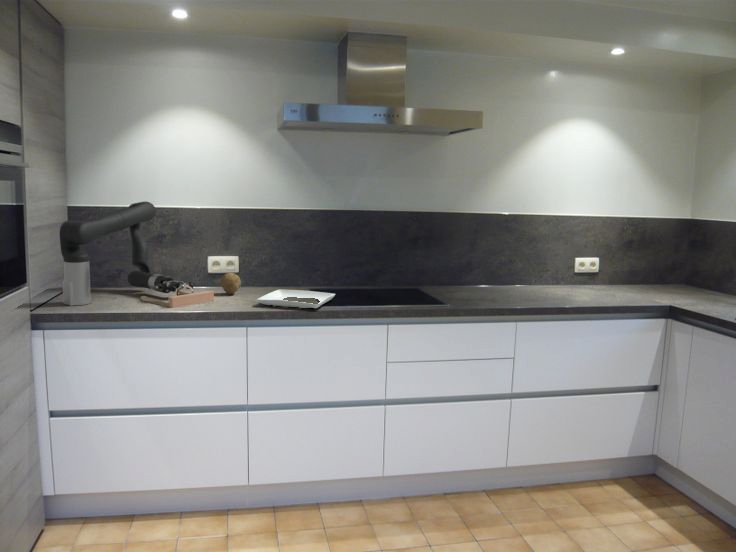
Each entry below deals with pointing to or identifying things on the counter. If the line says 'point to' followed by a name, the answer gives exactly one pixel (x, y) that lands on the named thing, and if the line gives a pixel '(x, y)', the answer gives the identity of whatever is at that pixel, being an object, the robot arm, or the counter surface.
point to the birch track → (161, 300)
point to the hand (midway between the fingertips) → (183, 288)
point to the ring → (184, 286)
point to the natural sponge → (230, 283)
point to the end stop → (191, 299)
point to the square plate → (279, 295)
